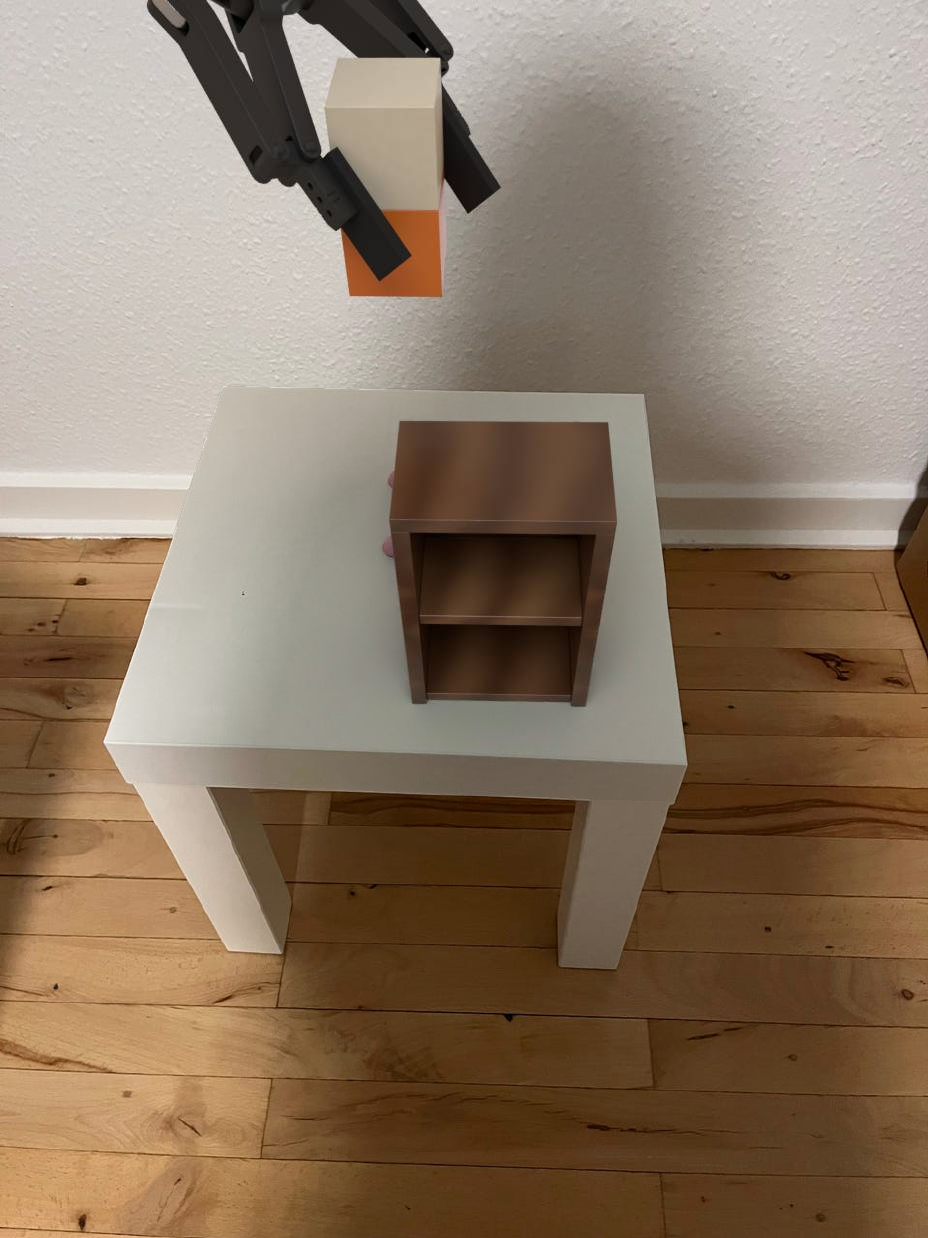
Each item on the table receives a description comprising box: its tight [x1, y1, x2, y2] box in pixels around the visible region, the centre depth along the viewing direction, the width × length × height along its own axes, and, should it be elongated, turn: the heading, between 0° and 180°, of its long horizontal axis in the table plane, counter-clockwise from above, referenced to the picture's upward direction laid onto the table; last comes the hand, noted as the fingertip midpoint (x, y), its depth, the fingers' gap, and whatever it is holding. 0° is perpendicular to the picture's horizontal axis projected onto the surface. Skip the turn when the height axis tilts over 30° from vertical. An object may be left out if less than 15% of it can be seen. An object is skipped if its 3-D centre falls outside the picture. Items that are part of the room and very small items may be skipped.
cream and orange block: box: [323, 57, 448, 298], centre depth 53 cm, size 6×6×11 cm
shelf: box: [388, 420, 618, 708], centre depth 68 cm, size 14×9×22 cm, turn 88°
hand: (441, 233), depth 53 cm, fingers closed on cream and orange block, 8 cm apart
